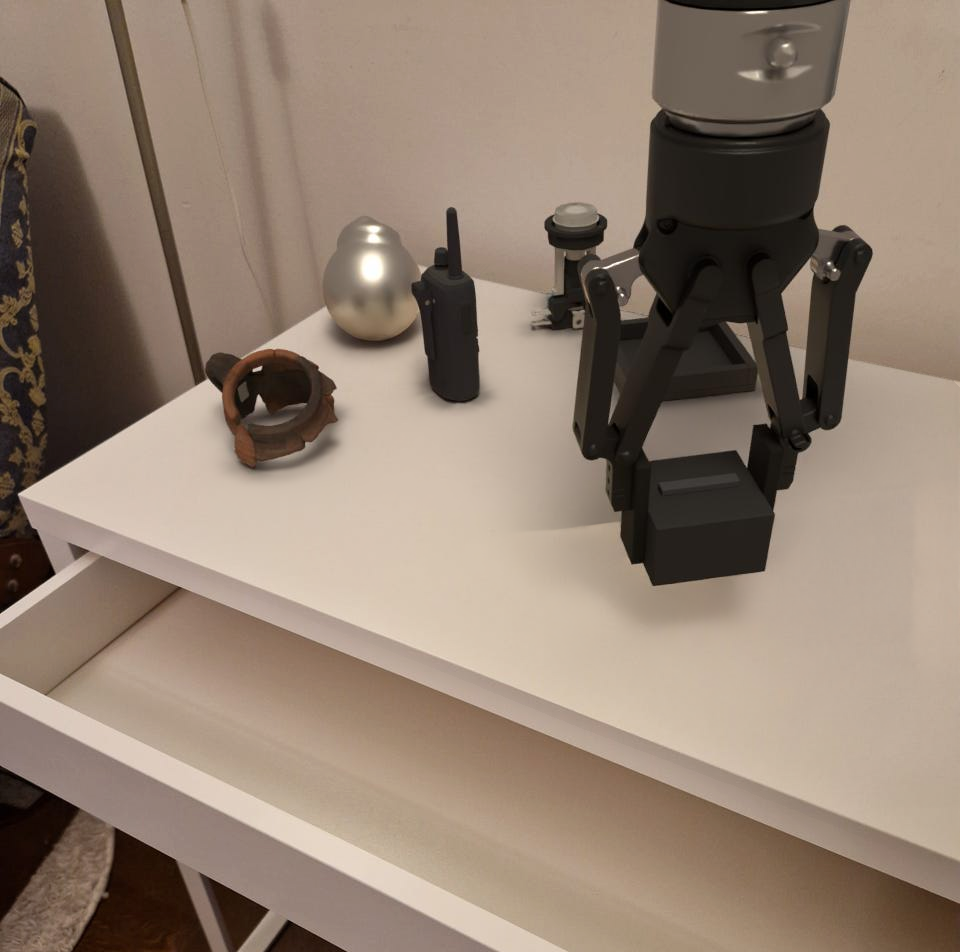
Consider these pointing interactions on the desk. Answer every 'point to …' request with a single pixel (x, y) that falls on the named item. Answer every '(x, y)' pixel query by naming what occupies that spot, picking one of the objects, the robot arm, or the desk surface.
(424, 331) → the two-way radio
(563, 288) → the push button
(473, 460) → the desk surface
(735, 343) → the base pad
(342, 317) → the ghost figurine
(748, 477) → the top pad
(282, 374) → the pottery mug
